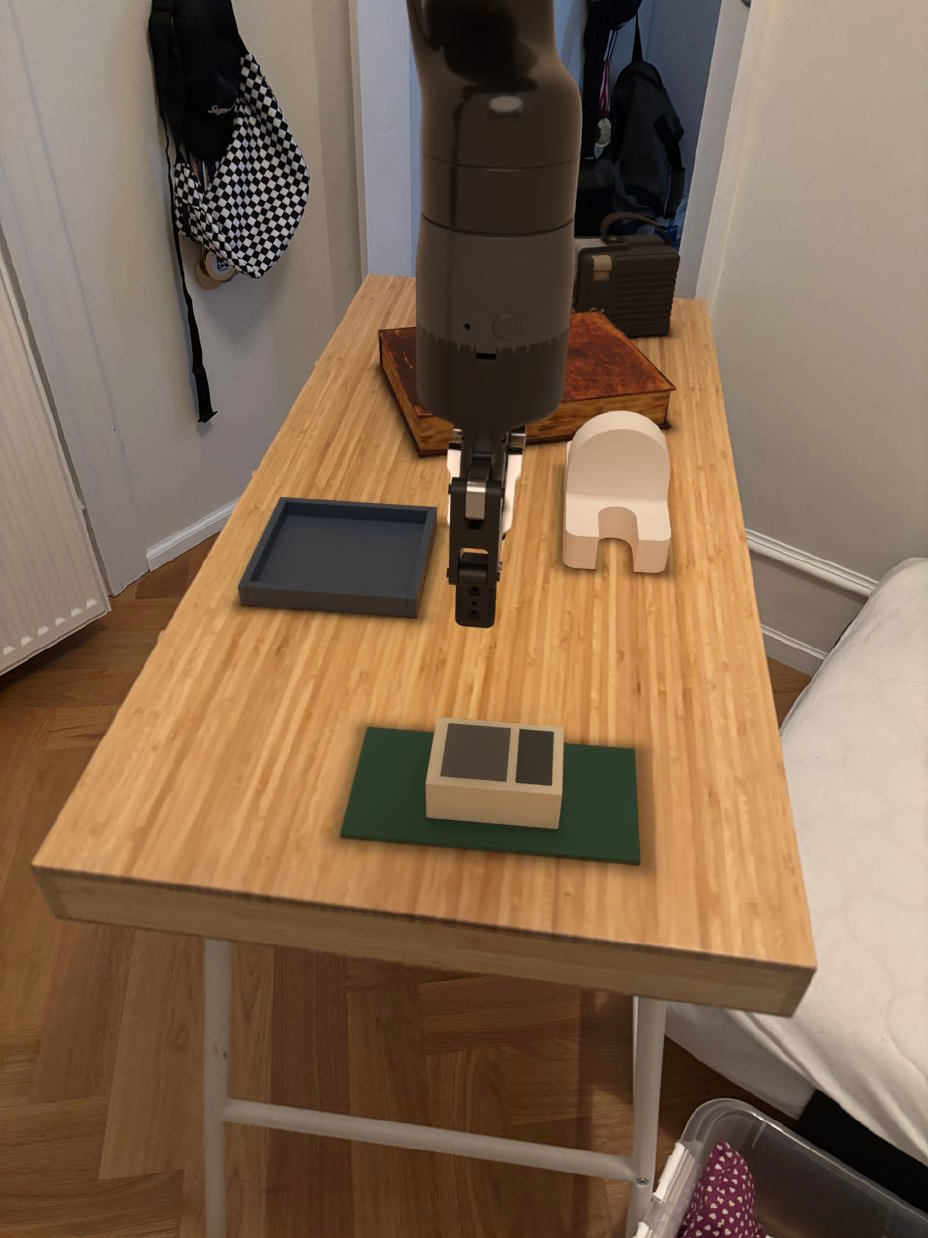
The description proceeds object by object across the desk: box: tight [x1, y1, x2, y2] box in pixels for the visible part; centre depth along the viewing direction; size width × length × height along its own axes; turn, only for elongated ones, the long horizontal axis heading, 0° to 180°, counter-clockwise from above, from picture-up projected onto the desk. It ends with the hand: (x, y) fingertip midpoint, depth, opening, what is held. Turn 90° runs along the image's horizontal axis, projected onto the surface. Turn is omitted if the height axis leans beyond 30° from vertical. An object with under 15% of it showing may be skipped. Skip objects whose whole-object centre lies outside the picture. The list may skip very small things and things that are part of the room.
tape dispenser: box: [562, 411, 672, 574], centre depth 90 cm, size 10×18×11 cm, turn 175°
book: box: [377, 310, 677, 459], centre depth 113 cm, size 30×24×5 cm
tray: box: [237, 496, 438, 618], centre depth 87 cm, size 16×15×2 cm
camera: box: [571, 211, 681, 338], centre depth 127 cm, size 11×14×15 cm
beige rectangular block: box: [426, 716, 565, 829], centre depth 65 cm, size 9×6×4 cm
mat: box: [339, 726, 641, 865], centre depth 66 cm, size 20×10×1 cm, turn 84°
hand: (482, 578), depth 56 cm, fingers open, 8 cm apart
